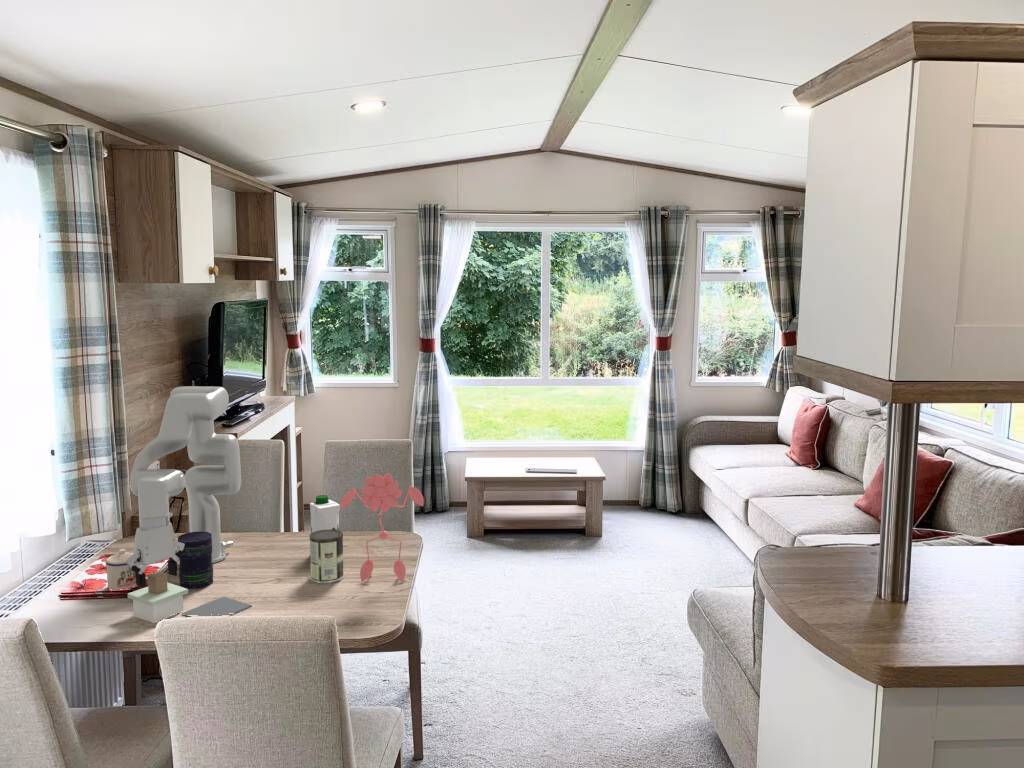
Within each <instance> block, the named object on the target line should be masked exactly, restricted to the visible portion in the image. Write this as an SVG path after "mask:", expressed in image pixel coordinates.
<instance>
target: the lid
mask: <svg viewBox="0 0 1024 768" xmlns="http://www.w3.org/2000/svg"><path fill="white" fill-rule="evenodd" d="M167 573H168V572H167ZM167 573H166V572H163V571H161V570H157V571H155V572H152V573H148V574H147V586H146V587H144V588H142V587H141V588H139V589H137V590H133V591H132V592H128V593H127V598H128V599H131V600H132V601H133V600H135V601H138V602H141V603H144V604H146V605H149V606H152V607H153V606H155V605H158V604H161V603H163V602H166V601H169V600H171V599H174V598H177V597H180V596H182V595H183V596H184V595H188V593H189V590H188V589H186V588H183V587H180V585H176V584H173V583H170V582H168V574H167Z"/></svg>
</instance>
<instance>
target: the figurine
mask: <svg viewBox="0 0 1024 768" xmlns="http://www.w3.org/2000/svg"><path fill="white" fill-rule="evenodd" d="M364 482H365V484H366V485H365V486H363V487H362V488H361V489H360V490H359V491H360V494H362V495H363V496H362V497H361V496H360V495H359V494H358V492H357V491H356V490H355V488H352V489H350V490H348V492H346V493H345V494H344V495H343V497H342V499H341V502H340V510H341V511H342V510H344V509H345V508H347V507H348V506H349V505H350V504H351V503H352V502H353V501H354V498H355V496H356V497H357V498H358V499H359V501H360V502H362V504H363V505H364V506H365V508H366V509H367V510H370V511H372V512H377V511H378V509H380V510H381V511H380V512H379V514H378V520H379V523H380V527H381V530H382V531H380V532H379V535H378V536H377V537H374V538H371V539H368V540H366V553H367V554H366V555H367V560H365V562H363V564H362V565H361V567H360V571H359V577H360V582H361V583H362V582H364V581H366V580H367V579H368V578H369V577H371V575H373V574H372V573H373V570H374V561H373V560H371V559H370V556H369V543H368V542H371V541H374V540H377V539H379V538H380V539H381V540H387V539H391V540H394V541H397V542H399V552H398V559H396V560H395V561H394V563H393V572H394V574H395V576H396V577H397V578H398V579H399V580H400V581H401V582H404V580H405V576H406V571H407V570H406V566H405V564H404V563H403V562H402V560H401V549H402V540H400V539H397V538H395V537H390V536H389V532H388V531H386V530H385V529H384V526H383V522H382V518H381V516H382V514H383V512H385V513H388V512H389V510H390V508H401V509H402V508H403V509H404V507H405V506H406V503H407V500H408V497H409V498H410V499H411V500H412V502H414V503H415V504H416V505H418V506H421V507H424V504H425V503H424V501H425V500H424V496H423V494H422V491H420V490H419V489H418V488H417V487H415V486H413V485H409V487H408V491H407V494H406V497H405V499H404V502H403V505H399V502H398V500H397V499H399V498H400V497H402V496H403V491H402V490H400V489H399V486H400V485H399V484H400V483H399V482H398V481H396V480H395V481H394V478H393V476H392V474H391V473H386V474H384V476H382V475H381V474H378V473H375V474H374V475H373V476H367V477H364ZM367 504H368V505H369V506H368V505H367ZM353 574H354V573H352V574H350V576H352V575H353ZM411 588H412V586H410V587H407V588H403V589H400V590H399V591H400V592H403V591H405V590H409V589H411ZM365 591H366V593H369V591H367V590H365ZM379 593H381V594H385V593H384V592H380V591H379V592H378V593H377V594H379Z"/></svg>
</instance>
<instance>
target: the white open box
mask: <svg viewBox="0 0 1024 768" xmlns="http://www.w3.org/2000/svg"><path fill="white" fill-rule="evenodd" d="M183 598H184V595H182V596H180V597H177V598H174V599H171V600H169V601H166V602H163V603H161V604H158V605H155V606H153V607H152V606H149V605H146V604H144V603H141V602H138V601H135V600H133V599H132V605H133V607H132V608H133V609H132V610H133V616H134V617H136V618H138V619H141V618H142V619H141V620H144V621H147V620H148V621H147V622H149V621H150V622H149V623H152V624H156V623H158V621H159V622H161V621H163V620H162V619H164V620H166V619H168V618H170V617H169V616H170V615H173V614H176V613H179V614H181V613H182V612H181V611H183V612H184V599H183ZM180 612H181V613H180ZM176 615H177V614H176ZM166 617H168V618H166ZM165 618H166V619H165ZM160 620H161V621H160ZM156 621H157V622H156ZM155 622H156V623H155Z"/></svg>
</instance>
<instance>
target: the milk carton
mask: <svg viewBox="0 0 1024 768" xmlns="http://www.w3.org/2000/svg"><path fill="white" fill-rule="evenodd" d="M309 508H310V510H309V511H310V534H311V533H313V532H315V531H319V530H329V529H330V530H339V531H340V517H339V516H340V510H341V504H339V503H338V502H336V501H333V500H331V499H329V496H328V495H326V494H324V495H323V494H321V495H317V496H316V497H315V502H314V501H313V502H310V503H309Z"/></svg>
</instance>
